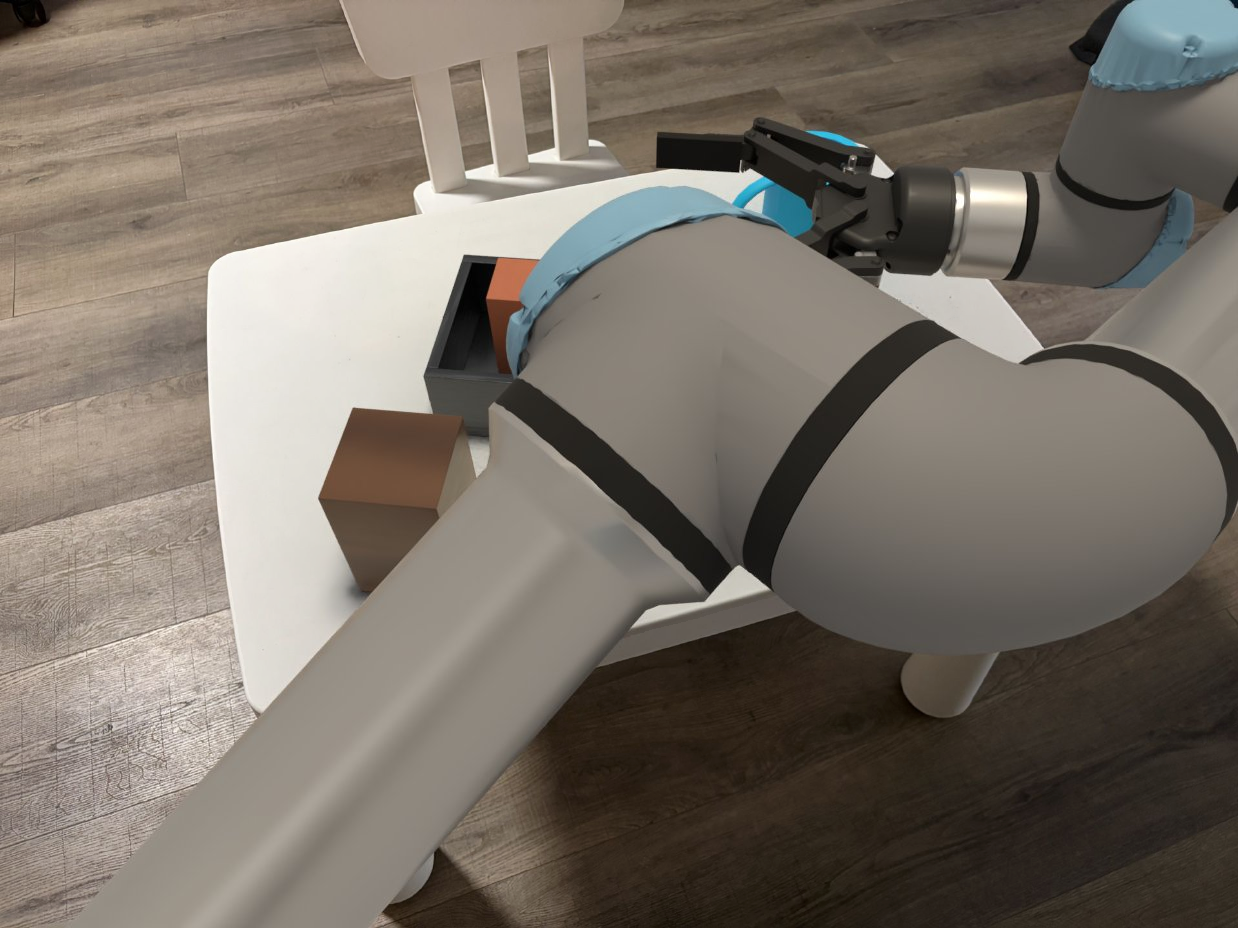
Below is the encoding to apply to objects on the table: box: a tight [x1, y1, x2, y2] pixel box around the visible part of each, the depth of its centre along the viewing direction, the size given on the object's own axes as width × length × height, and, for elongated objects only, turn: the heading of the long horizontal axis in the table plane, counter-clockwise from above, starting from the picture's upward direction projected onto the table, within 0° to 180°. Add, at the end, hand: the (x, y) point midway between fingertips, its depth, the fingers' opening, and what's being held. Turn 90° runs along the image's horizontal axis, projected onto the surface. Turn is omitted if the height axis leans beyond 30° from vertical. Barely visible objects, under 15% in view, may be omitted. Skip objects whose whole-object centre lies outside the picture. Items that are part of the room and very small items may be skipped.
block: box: [486, 258, 539, 374], centre depth 80 cm, size 5×6×10 cm
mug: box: [731, 130, 860, 238], centre depth 92 cm, size 14×9×9 cm
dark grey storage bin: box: [423, 254, 541, 437], centre depth 82 cm, size 15×15×7 cm
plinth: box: [317, 407, 477, 593], centre depth 69 cm, size 8×8×12 cm
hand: (647, 204), depth 69 cm, fingers open, 13 cm apart
